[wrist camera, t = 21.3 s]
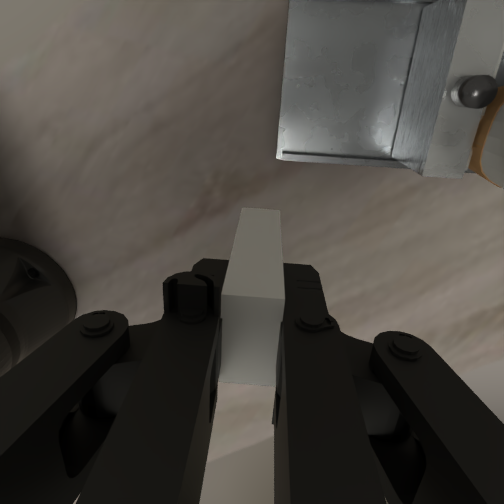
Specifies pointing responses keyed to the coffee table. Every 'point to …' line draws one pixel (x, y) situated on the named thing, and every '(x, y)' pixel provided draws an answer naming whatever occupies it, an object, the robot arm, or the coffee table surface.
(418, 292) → the coffee table surface
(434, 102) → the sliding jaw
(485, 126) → the coffee cup
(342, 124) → the base
